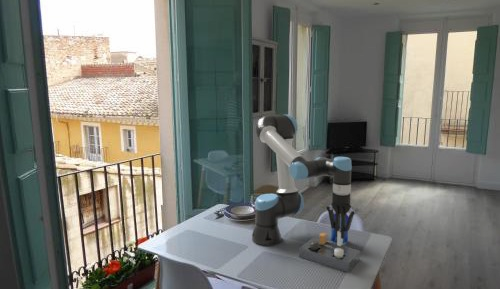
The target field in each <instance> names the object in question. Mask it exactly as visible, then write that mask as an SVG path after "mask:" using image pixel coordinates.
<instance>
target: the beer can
mask: <svg viewBox="0 0 500 289" xmlns="http://www.w3.org/2000/svg"><path fill="white" fill-rule="evenodd" d="M333 212H334V218H336V216H335V211H334V210H333ZM348 217H349V215H348V212H347V213H346V224H347V221H348ZM340 227H341V214H340ZM340 229H341V228H340ZM340 229H339V230H340ZM348 239H349V230H348V231H345V237H344V238H343V244H342V245H344V246H346V244H347V243H348V241H349V240H348ZM330 242H333V243H336V244H337V237H336V236H335V229H334V228H332V227H331V226H330Z"/></svg>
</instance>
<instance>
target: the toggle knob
mask: <svg viewBox="0 0 500 289" xmlns="http://www.w3.org/2000/svg"><path fill="white" fill-rule="evenodd" d="M327 236H328V234H327V233H325V232H321V233H320V234H318V237H319V240H320V242H319V243H321V244H325V243H326V241H327Z"/></svg>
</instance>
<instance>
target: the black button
mask: <svg viewBox="0 0 500 289" xmlns="http://www.w3.org/2000/svg"><path fill="white" fill-rule="evenodd" d="M310 250H312V251H315V252H317V251H318V250H319V243H318V242H316V241H311V242H310Z"/></svg>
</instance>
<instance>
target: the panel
mask: <svg viewBox="0 0 500 289" xmlns="http://www.w3.org/2000/svg"><path fill="white" fill-rule="evenodd" d="M311 241H316V242H318V243H319V242H320V238H314V237H312V238H311V239H309V240H308V241H306V242H304V244H302V245H301V246H299V248H298V257H299V258H301V259H304V260H307V261H311V262H314V263H317V264H319V265H323V266H326V267H329V268H332V269H334V270H339V271H342V272H345V273H348V274H349V273H350V272H351V270H353V269H354V267H355V266H356V265H357V263H359V261H361V250H359V249H355V248H352V247H348V246H346V245H341V246H338V245H337V244H336V243H333V242H332V241H329V240H326V243H325V244H321V243H319V250H318V251H317V252H315V251H312V250H310V242H311ZM335 248H341V249H343V250H344V256H343V259H339V258H335V257H334V249H335Z"/></svg>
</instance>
